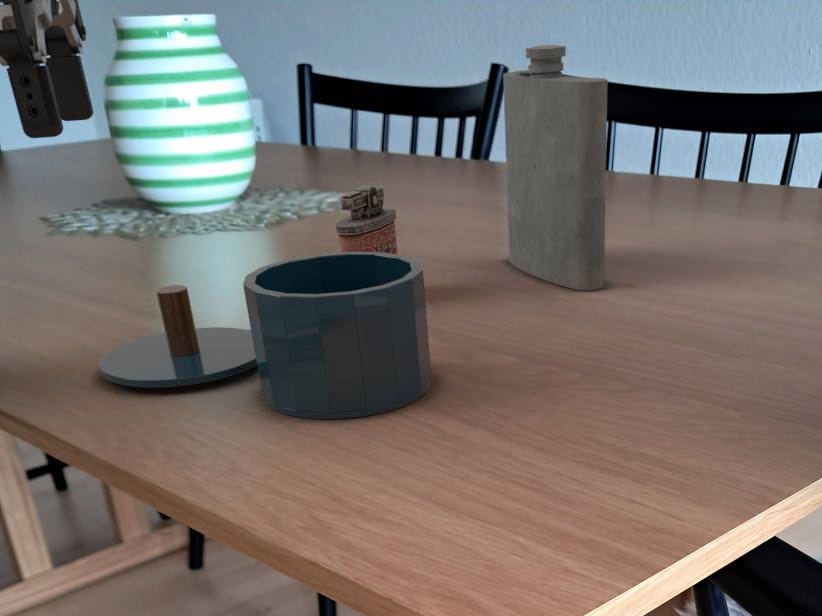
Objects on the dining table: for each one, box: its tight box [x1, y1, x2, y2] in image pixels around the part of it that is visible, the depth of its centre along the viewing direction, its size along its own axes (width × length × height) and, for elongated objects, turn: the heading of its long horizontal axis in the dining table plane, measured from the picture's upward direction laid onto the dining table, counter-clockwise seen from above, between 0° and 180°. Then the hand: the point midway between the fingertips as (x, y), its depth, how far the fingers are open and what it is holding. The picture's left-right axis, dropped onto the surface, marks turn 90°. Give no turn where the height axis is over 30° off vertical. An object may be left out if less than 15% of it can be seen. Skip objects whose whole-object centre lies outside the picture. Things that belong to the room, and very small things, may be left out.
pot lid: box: [98, 284, 257, 389], centre depth 81 cm, size 14×14×6 cm
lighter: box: [334, 185, 399, 255], centre depth 95 cm, size 8×3×10 cm, turn 154°
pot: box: [242, 252, 432, 420], centre depth 74 cm, size 13×13×8 cm
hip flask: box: [502, 44, 608, 292], centre depth 97 cm, size 16×4×20 cm, turn 26°
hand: (62, 127), depth 65 cm, fingers open, 8 cm apart
